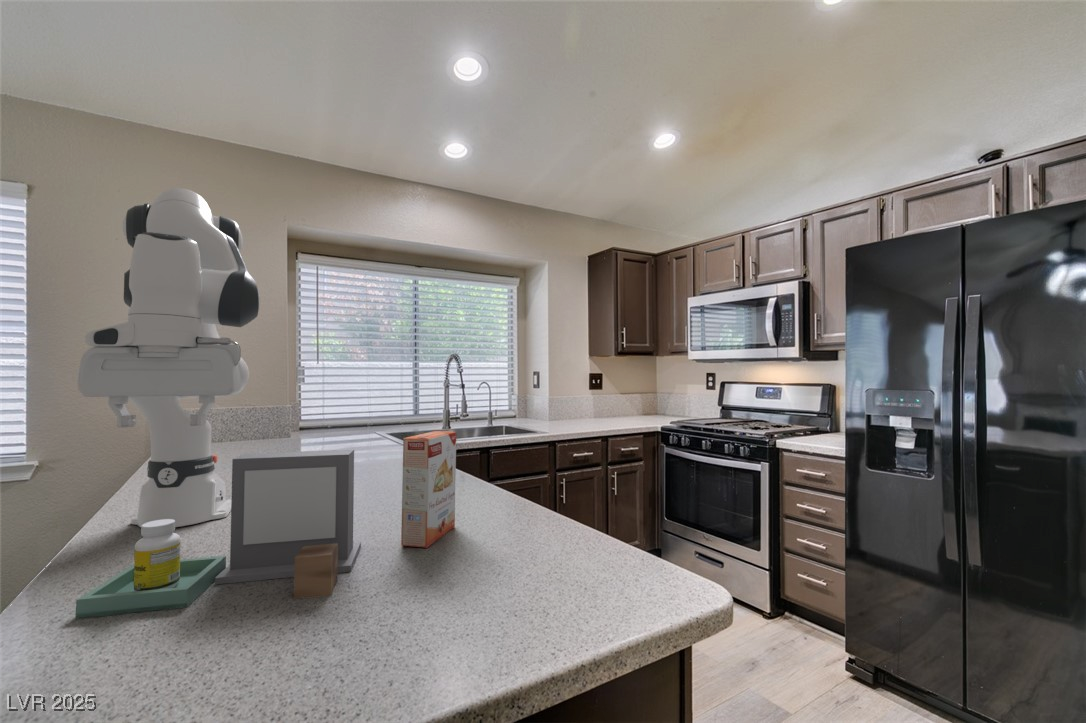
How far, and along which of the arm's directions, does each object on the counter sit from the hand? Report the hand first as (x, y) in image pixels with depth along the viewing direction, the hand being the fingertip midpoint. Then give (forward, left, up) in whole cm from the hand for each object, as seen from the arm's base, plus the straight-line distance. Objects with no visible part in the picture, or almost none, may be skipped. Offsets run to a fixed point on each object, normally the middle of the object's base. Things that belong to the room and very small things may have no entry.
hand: (162, 426), depth 72 cm
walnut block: (+5, +23, -25) cm, 35 cm away
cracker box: (-16, +40, -25) cm, 50 cm away
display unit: (-7, +17, -25) cm, 31 cm away
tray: (0, 0, -25) cm, 25 cm away
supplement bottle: (0, 0, -25) cm, 25 cm away
